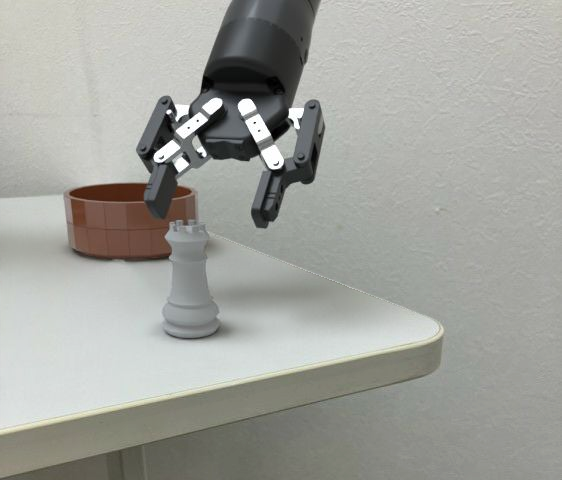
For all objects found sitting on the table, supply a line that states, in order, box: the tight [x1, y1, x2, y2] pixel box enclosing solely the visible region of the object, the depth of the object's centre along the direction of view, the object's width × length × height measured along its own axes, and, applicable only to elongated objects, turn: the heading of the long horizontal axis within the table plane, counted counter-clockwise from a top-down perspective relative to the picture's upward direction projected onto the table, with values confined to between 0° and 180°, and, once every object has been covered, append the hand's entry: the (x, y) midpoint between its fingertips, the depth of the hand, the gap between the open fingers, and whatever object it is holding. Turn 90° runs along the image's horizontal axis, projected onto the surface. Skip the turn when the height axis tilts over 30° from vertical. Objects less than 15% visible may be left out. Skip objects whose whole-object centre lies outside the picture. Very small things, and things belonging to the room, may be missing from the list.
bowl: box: [63, 181, 200, 261], centre depth 73 cm, size 14×14×6 cm
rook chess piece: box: [161, 220, 222, 339], centre depth 48 cm, size 4×4×8 cm
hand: (205, 217), depth 49 cm, fingers open, 8 cm apart
